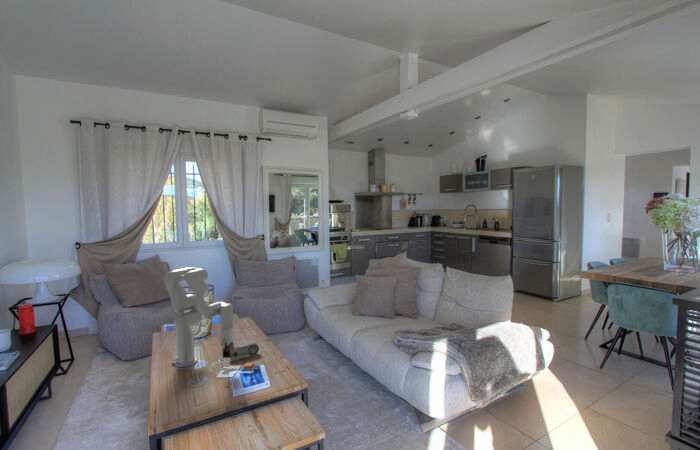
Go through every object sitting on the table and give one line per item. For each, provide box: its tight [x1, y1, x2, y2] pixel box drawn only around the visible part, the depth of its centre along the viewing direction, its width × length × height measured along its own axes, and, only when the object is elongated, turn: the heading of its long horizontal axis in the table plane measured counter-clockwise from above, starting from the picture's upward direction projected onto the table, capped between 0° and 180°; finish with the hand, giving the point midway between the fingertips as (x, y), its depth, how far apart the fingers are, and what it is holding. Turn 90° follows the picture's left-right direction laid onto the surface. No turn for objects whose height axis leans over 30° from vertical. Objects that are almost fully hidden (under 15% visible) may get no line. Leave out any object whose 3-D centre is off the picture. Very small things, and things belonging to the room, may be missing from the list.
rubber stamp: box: [221, 341, 235, 359], centre depth 197 cm, size 5×5×7 cm
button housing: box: [241, 363, 257, 372], centre depth 198 cm, size 6×6×3 cm
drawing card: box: [215, 365, 242, 379], centre depth 198 cm, size 10×14×1 cm
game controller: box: [229, 342, 260, 361], centre depth 216 cm, size 20×2×8 cm, turn 123°
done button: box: [243, 362, 255, 368], centre depth 198 cm, size 4×4×2 cm
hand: (228, 354), depth 197 cm, fingers closed on rubber stamp, 5 cm apart
